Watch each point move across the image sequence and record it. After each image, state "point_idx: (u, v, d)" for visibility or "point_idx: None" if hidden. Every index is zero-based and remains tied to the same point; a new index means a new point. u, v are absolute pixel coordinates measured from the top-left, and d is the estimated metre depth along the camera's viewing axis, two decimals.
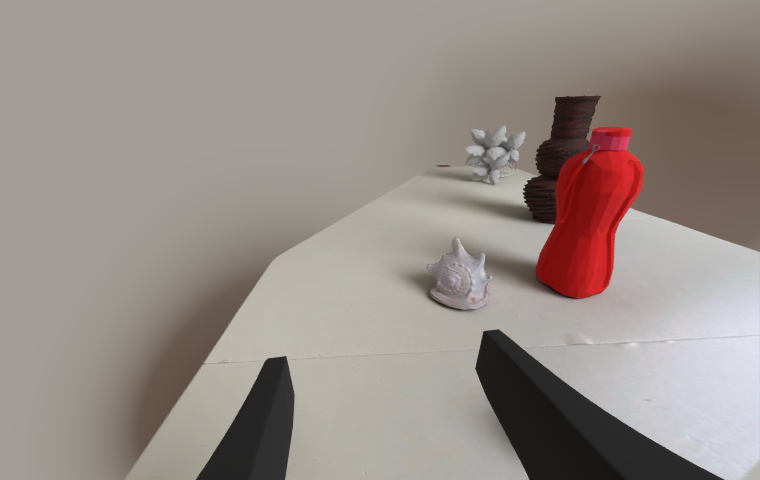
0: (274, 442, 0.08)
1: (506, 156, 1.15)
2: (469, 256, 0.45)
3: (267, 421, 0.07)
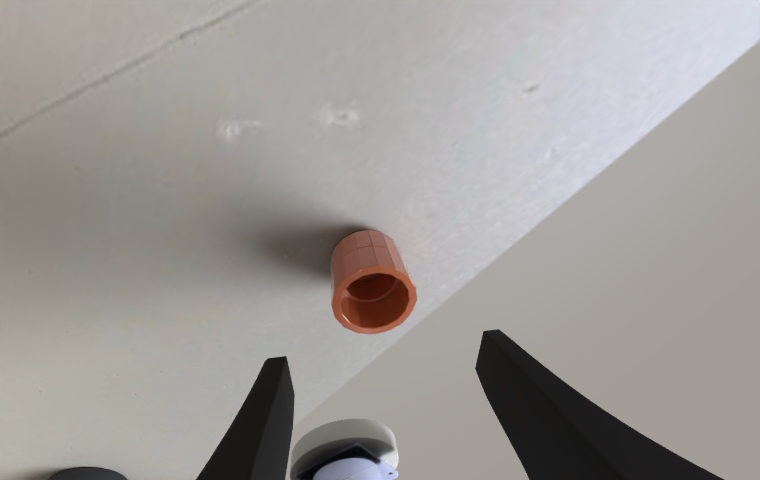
0: (274, 442, 0.08)
1: None
2: None
3: (267, 421, 0.07)
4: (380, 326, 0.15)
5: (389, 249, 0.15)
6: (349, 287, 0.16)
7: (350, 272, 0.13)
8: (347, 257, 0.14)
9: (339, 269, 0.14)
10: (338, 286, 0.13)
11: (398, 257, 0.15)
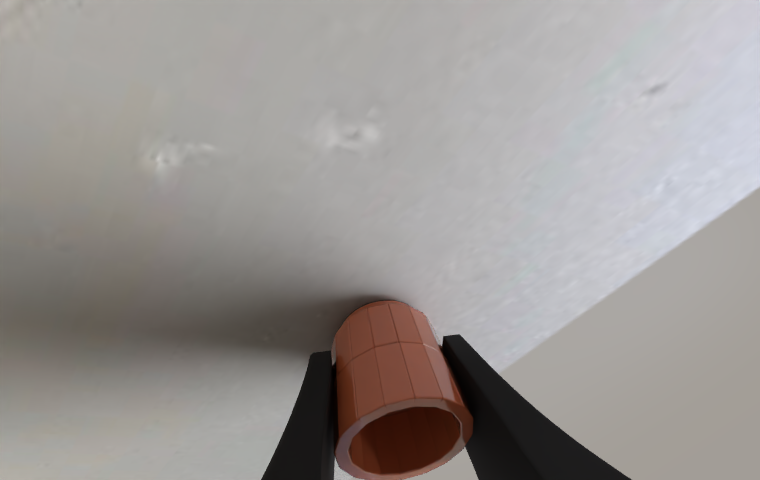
0: (329, 433, 0.08)
1: None
2: None
3: (326, 412, 0.08)
4: (411, 468, 0.09)
5: (425, 344, 0.09)
6: None
7: (366, 407, 0.07)
8: (359, 363, 0.09)
9: (346, 386, 0.08)
10: (345, 430, 0.08)
11: (440, 359, 0.09)
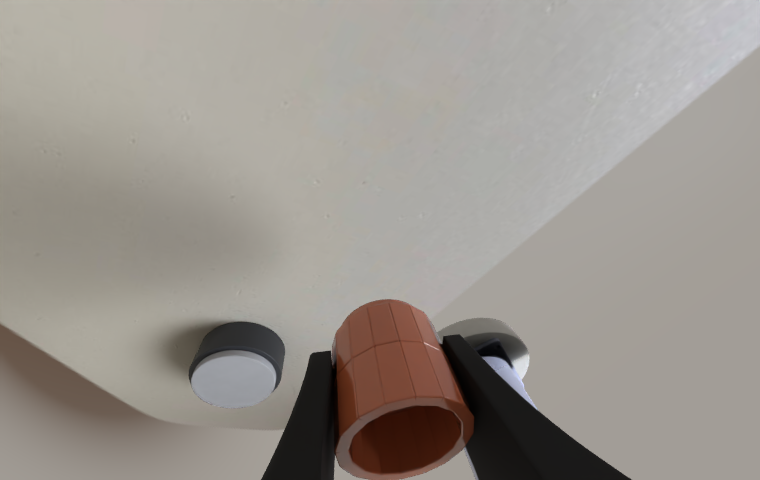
0: (329, 433, 0.08)
1: None
2: None
3: (325, 412, 0.08)
4: (412, 467, 0.09)
5: (426, 343, 0.09)
6: None
7: (367, 405, 0.07)
8: (360, 362, 0.09)
9: (347, 385, 0.08)
10: (346, 429, 0.08)
11: (441, 358, 0.09)
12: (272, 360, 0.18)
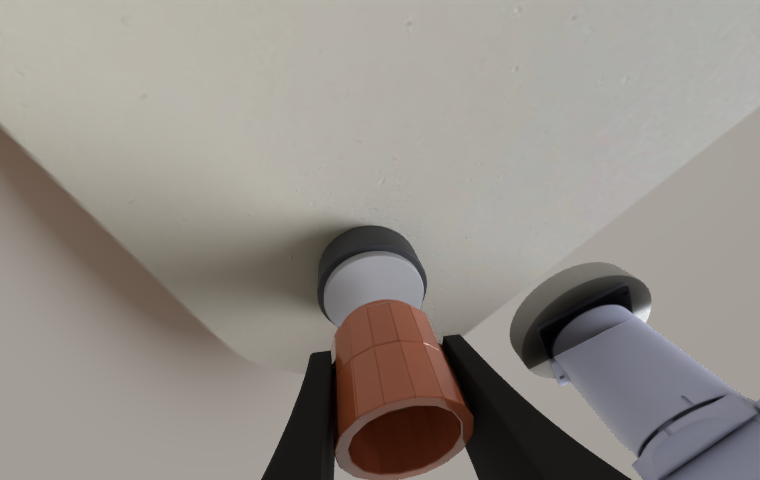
0: (329, 433, 0.08)
1: None
2: None
3: (325, 412, 0.08)
4: (411, 467, 0.09)
5: (426, 343, 0.09)
6: None
7: (366, 406, 0.07)
8: (359, 362, 0.09)
9: (346, 385, 0.08)
10: (345, 429, 0.07)
11: (441, 358, 0.09)
12: (422, 271, 0.14)
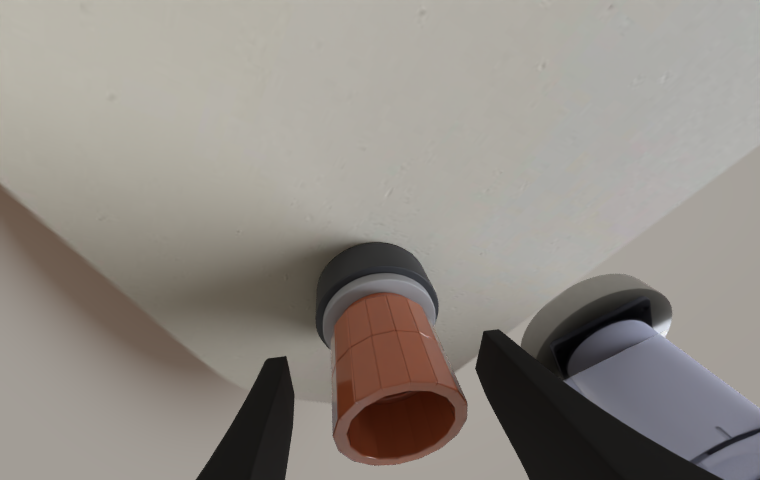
0: (274, 442, 0.08)
1: None
2: None
3: (267, 421, 0.07)
4: (408, 452, 0.10)
5: (421, 333, 0.10)
6: None
7: (364, 391, 0.08)
8: (357, 351, 0.09)
9: (345, 373, 0.09)
10: (344, 413, 0.08)
11: (436, 347, 0.09)
12: (433, 294, 0.13)
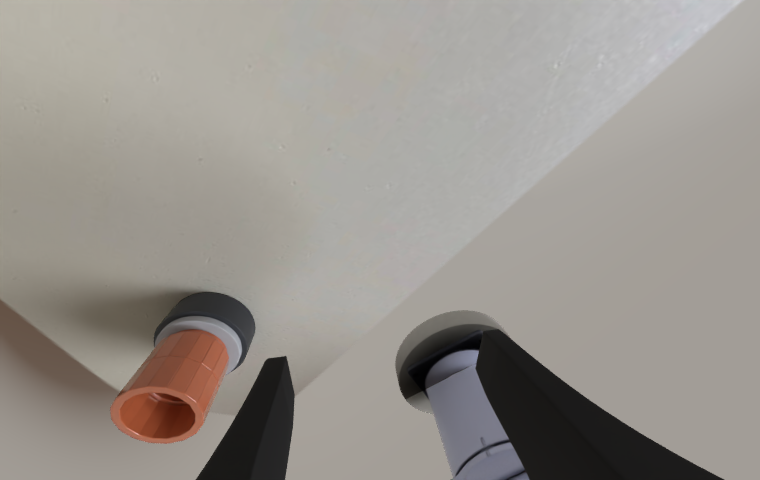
0: (274, 442, 0.08)
1: None
2: None
3: (267, 421, 0.07)
4: (175, 436, 0.15)
5: (188, 358, 0.15)
6: None
7: (123, 391, 0.13)
8: (141, 368, 0.15)
9: (129, 381, 0.14)
10: (112, 404, 0.13)
11: (194, 367, 0.15)
12: (237, 330, 0.18)
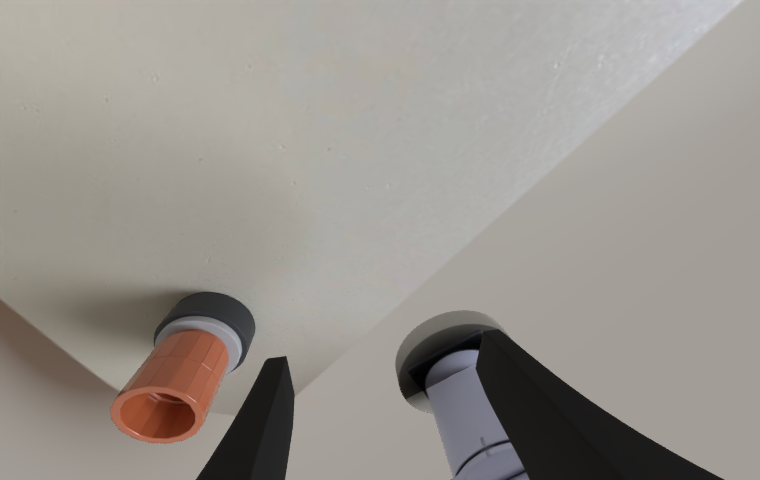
0: (274, 442, 0.08)
1: None
2: None
3: (267, 421, 0.07)
4: (175, 436, 0.15)
5: (188, 358, 0.15)
6: None
7: (123, 391, 0.13)
8: (141, 368, 0.15)
9: (129, 381, 0.14)
10: (112, 405, 0.13)
11: (194, 367, 0.15)
12: (237, 330, 0.18)
